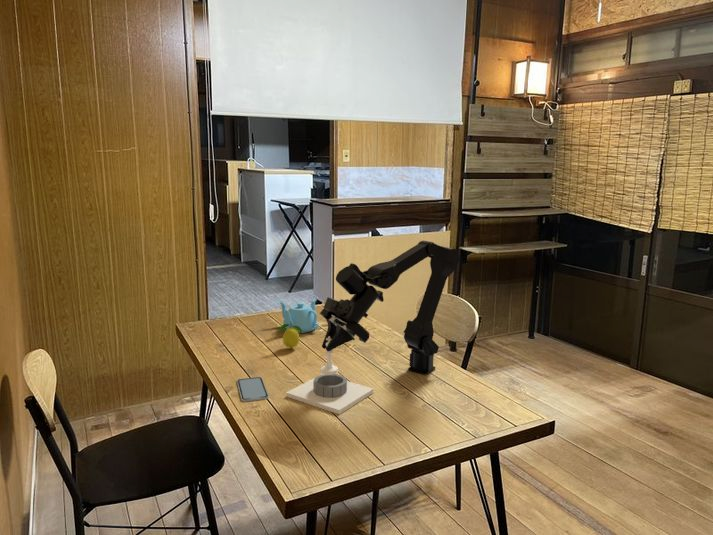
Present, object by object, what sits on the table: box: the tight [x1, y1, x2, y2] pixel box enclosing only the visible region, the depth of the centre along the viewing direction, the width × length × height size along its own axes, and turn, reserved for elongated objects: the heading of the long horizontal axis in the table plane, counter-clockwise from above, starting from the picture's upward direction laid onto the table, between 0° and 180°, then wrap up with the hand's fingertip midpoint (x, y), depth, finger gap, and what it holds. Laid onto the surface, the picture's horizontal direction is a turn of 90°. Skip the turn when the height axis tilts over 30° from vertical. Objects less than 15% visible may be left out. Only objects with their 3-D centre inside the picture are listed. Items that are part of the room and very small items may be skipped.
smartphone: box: [236, 376, 270, 403], centre depth 150 cm, size 7×1×15 cm
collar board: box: [285, 373, 374, 415], centre depth 147 cm, size 18×16×4 cm
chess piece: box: [320, 336, 339, 375], centre depth 145 cm, size 5×5×10 cm
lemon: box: [278, 323, 303, 350], centre depth 181 cm, size 7×6×10 cm
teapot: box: [278, 298, 319, 334], centre depth 203 cm, size 15×15×10 cm
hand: (324, 349), depth 144 cm, fingers closed on chess piece
